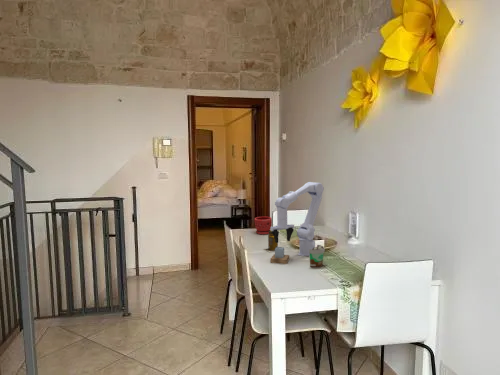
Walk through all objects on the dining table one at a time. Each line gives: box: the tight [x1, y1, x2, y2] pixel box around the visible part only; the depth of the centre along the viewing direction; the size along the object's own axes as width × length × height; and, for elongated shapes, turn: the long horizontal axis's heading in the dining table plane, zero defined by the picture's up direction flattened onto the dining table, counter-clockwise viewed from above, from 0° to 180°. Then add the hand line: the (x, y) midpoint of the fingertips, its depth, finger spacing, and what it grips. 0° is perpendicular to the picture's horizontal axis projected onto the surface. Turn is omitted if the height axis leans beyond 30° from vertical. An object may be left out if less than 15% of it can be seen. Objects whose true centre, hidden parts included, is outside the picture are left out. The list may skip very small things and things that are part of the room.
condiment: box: [263, 231, 279, 253], centre depth 231 cm, size 7×8×12 cm
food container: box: [309, 244, 326, 268], centre depth 198 cm, size 12×6×10 cm, turn 148°
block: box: [274, 246, 285, 258], centre depth 208 cm, size 4×4×5 cm
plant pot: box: [254, 216, 273, 236], centre depth 278 cm, size 13×13×12 cm
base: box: [270, 253, 290, 265], centre depth 208 cm, size 9×9×2 cm
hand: (282, 241), depth 211 cm, fingers open, 7 cm apart
